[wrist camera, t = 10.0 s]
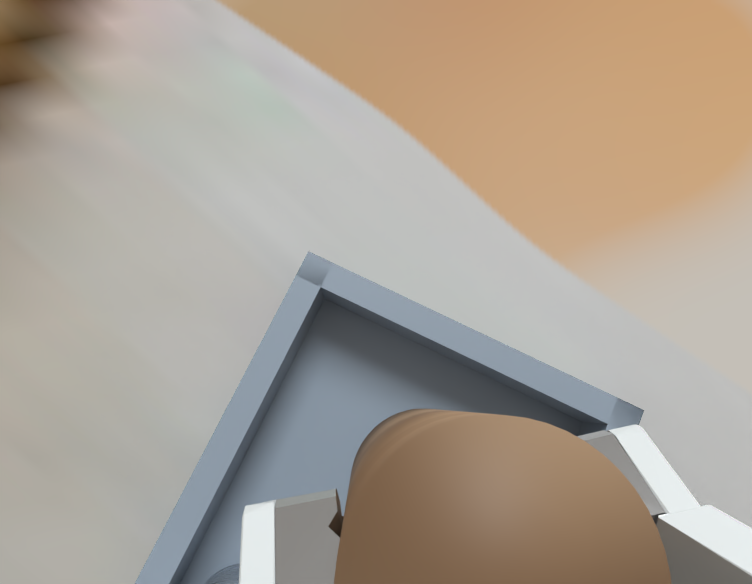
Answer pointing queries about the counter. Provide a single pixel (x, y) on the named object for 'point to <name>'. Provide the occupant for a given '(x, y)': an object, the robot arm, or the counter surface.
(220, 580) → the silver dome cap
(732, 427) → the counter surface
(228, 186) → the counter surface
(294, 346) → the tray
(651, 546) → the brown wooden peg
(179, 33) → the counter surface
